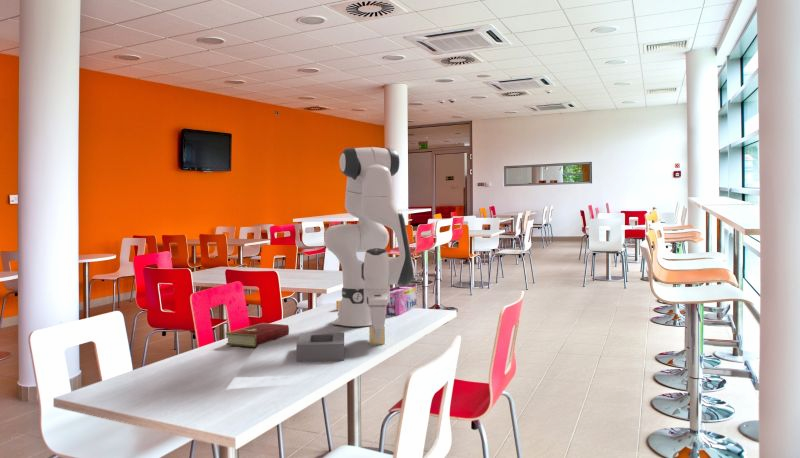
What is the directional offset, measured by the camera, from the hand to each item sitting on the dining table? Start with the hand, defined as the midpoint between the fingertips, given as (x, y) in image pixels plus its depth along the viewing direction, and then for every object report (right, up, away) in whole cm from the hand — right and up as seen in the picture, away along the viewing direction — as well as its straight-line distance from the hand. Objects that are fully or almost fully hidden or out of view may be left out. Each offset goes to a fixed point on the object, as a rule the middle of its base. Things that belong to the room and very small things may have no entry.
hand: (377, 337), depth 197 cm
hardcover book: (-43, -3, +11) cm, 44 cm away
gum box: (+8, -2, +55) cm, 55 cm away
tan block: (0, -2, 0) cm, 2 cm away
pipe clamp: (-19, -2, +66) cm, 69 cm away
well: (-17, -2, -15) cm, 22 cm away
